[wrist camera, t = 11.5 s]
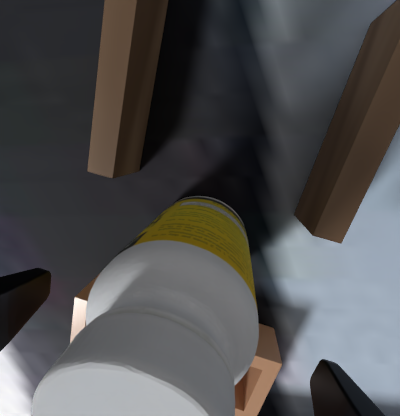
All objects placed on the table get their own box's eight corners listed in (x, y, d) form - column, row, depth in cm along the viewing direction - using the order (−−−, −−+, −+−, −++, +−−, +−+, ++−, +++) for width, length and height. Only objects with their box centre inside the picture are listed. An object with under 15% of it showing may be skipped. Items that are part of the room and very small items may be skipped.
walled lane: (119, 165, 13) (87, 171, 10) (147, -27, 10) (114, -93, 7) (315, 220, 12) (341, 243, 9) (398, 30, 10) (470, -21, 7)
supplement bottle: (169, 181, 13) (-2, 277, 3) (260, 211, 13) (346, 405, 3) (148, 261, 14) (-9, 475, 5) (228, 289, 14) (222, 571, 5)
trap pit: (91, 329, 17) (68, 360, 14) (99, 273, 15) (74, 297, 13) (249, 382, 16) (252, 424, 13) (273, 327, 14) (282, 364, 12)
